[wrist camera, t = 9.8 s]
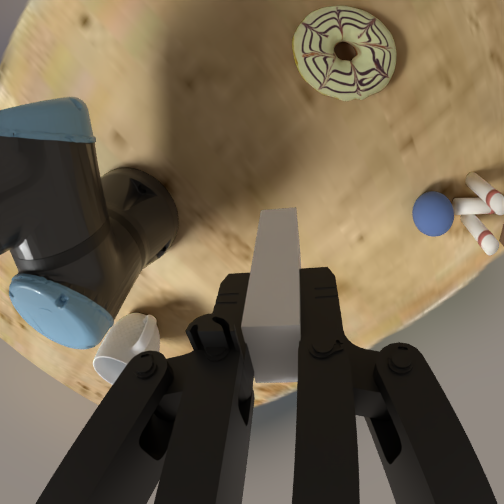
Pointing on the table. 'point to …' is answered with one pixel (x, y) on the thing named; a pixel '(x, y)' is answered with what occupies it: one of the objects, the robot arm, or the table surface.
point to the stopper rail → (502, 236)
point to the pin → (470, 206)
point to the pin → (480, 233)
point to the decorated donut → (342, 71)
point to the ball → (433, 213)
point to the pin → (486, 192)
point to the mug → (126, 344)
